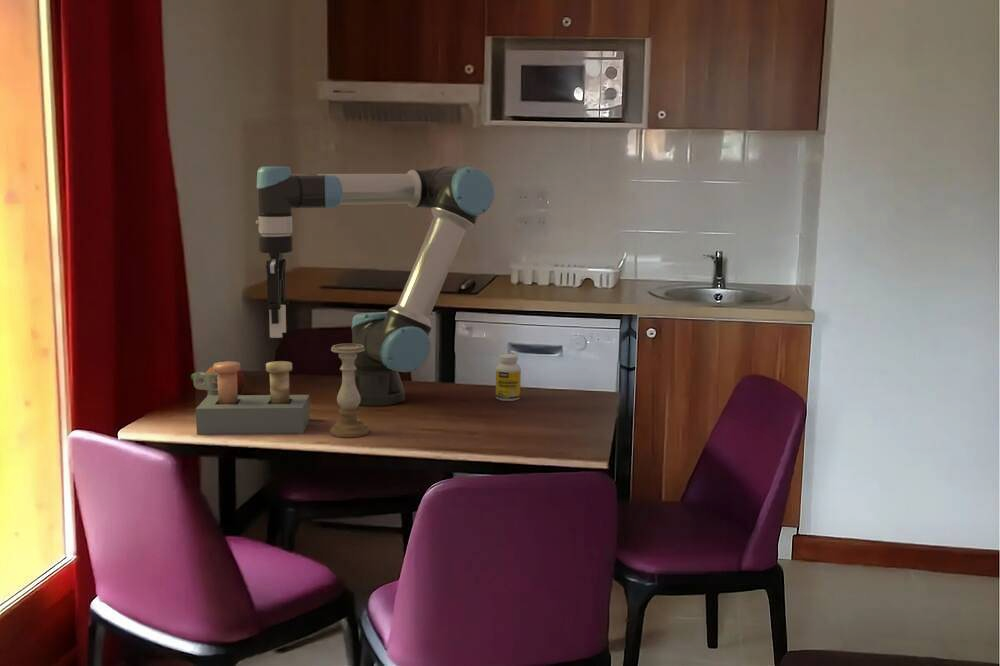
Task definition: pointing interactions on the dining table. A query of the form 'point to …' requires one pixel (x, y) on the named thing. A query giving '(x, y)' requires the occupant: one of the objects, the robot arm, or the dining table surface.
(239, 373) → the fruit
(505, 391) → the pill bottle
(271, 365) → the beech plug
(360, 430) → the candle holder
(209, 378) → the mechanical component
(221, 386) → the terracotta plug
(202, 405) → the socket board
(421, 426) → the dining table surface
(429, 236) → the robot arm
